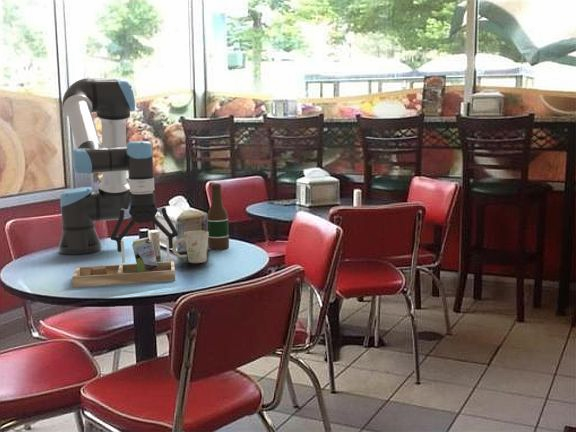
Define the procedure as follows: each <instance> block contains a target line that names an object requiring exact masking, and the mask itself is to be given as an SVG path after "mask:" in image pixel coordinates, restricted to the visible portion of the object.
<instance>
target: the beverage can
mask: <svg viewBox="0 0 576 432" xmlns="http://www.w3.org/2000/svg"><path fill="white" fill-rule="evenodd" d="M153 244H154V243H153V241H152V240H151V239H150V237H142V238H138V239H135V240H133V243H132V251H133V255H134V258H135V264H137V267H138V272H151V271H159V270H158V266H157V262H158V261H157V257H156V253H155V250H154V249H155V248H154V245H153Z"/></svg>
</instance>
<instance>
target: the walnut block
mask: <svg viewBox="0 0 576 432" xmlns="http://www.w3.org/2000/svg"><path fill="white" fill-rule="evenodd" d="M104 266H105V265H94V267H90V275H105V274H107V269H106V267H104Z"/></svg>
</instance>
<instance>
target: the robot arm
mask: <svg viewBox="0 0 576 432" xmlns="http://www.w3.org/2000/svg"><path fill="white" fill-rule="evenodd" d="M133 90H134V89H133V87H132V84H131V82H130V80H129V79H127V78H122V77H121V78H120V77H119V78H118V77H104V78H101V77H99V78H89V77H87V78H82V79H79V80H76V81H75V82H73V83H71V85H70V86H68V88H67V89H66V90H65V93H64V94H63V97H62V103H61V104H62V109H63V112H64V114H65V116H67V117H68V121H69V123H70V128H71V129H70V130H71V133H72V136H73V140H74V143H75V149H73V151H72V154H71V155H72V156H71V157H72V160H71V161H72V165H73V166H72V167H73V171H74V172H75V173H77V174H88V175H89V174H95V173H102V181H101V182H100V183H99V184H98V189H97V190H94V189H93V187H91V186H82V187H77V188H71V189H68V190H65V191H63V192H62V193H61V194H60V198H59V199H60V204H59V207H60V211H61V212H60V213H61V226H62V232H61V237H60V241H59V245H58V249H59V250H58V252H59V254H62V255H69V256H70V255H71V256H72V255H74V256H75V255H77V256H78V255H86V254H93V253H96V252H98V251H101V250H102V243H101V240H100V238H99V235H98V232H97V231H96V225H95V222H105V221H107V222H108V221H117V222H116V224H115V226H114V229H113V232H112V233H111V235H110V240H111V241H115V242H116V248H117V251H118V253H121V263H122V264H126V263H125V262H126V255H125V254H126V253H125V240H124V237H125V236H126V235H127V233H128V232H129V231H130V230H131V228H132V227H133V225H134V224H135V223H137V224H143V223H146V224H147V223H148V224H149V223H151V222H152V223H153V225H155V226H157V228H158V229H159V230H160V231H161V232H162V233H163V234H164V235H165V236H166V238H165V242H166V243H165V244H166V260H167V261H170V259H171V258H170V250H172V248H173V243H174V242H173V241H174V240H173V239H174V238H176V237H178V236H179V232H178V230H177V229H176V226H175V225H174V224H173V221H172V220H171V219H170V217H169V215H168V212H167V209H166V206H162V207H157V205H156V194H155V192H154V191H155V177H154V155H153V154H154V151H153V145H152V142H151V141H149V140H138V141H137V140H135V141H134V140H133V141H129V142H127V120H129V119H130V118H131V112H133V111H135V110H136V101H135V99H136V98H135V94H134V91H133ZM93 113H96V117H97V118H98V119H99V120H100V121H101V123H100V124H101V140H100V137H99V135H98V130H97V127H96V123H95V120H94V117H93ZM127 171H128V181H127ZM157 213H159V214H160V215H162V217H163V218H164V221H165V222H166V224H167V226H168V227H169V229H170V231H171V232H170V231H169V230H168V229H167V228H166V227H165V225H163V224H162V223H161V222H160V221H159V219H158V218H157V217H156V215H157ZM130 218H131V219H130ZM126 219H130V220H129V222H128V223H127V225H126V226H125V227H124V228H123V230H122V231H121V233H120V234H119V235H117V234H118V232H119V230H120V227H121V226H122V223H123V221H124V220H126Z"/></svg>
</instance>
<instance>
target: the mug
mask: <svg viewBox="0 0 576 432" xmlns="http://www.w3.org/2000/svg"><path fill="white" fill-rule="evenodd" d="M208 234H209V233H208V230H207V231H206V230H201V229H199V230H189V231H185V232H184V233H183V237H182V238H177V239H176V240H174V242H173V248H172V249H171V250H172V253H173V254H174V255H175V257H177V258H181V259H182V258H187V259H188V260H187V261H188V263H191V264H200V263H201V264H202V263H206V262H207V256H208ZM179 243H184V244H185V248H186V254H180V253H179V252H178V251H177V245H178V244H179Z"/></svg>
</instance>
